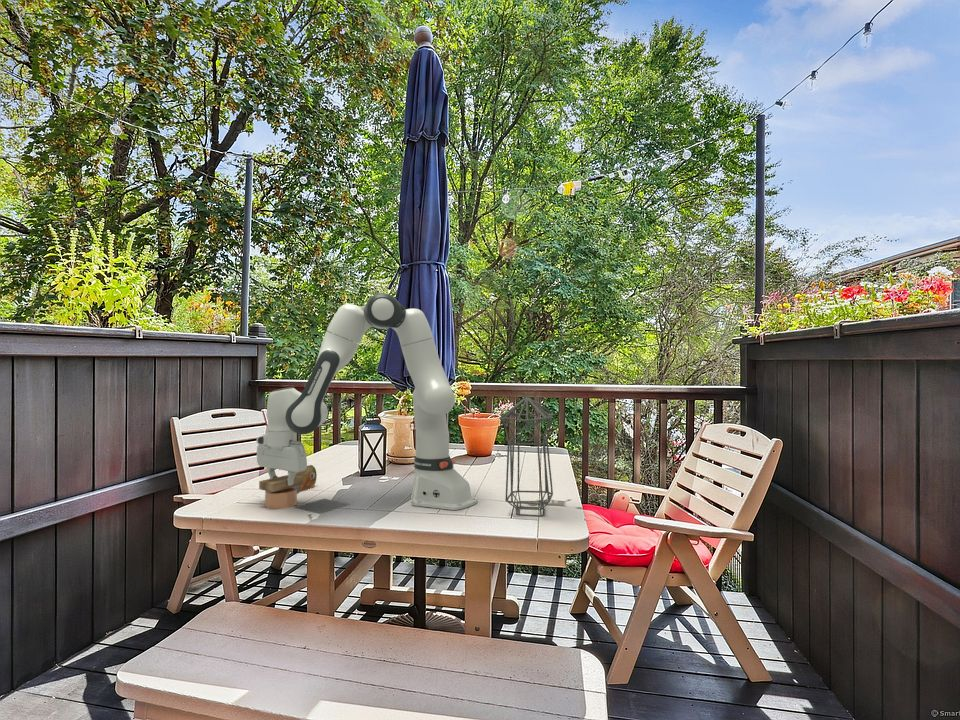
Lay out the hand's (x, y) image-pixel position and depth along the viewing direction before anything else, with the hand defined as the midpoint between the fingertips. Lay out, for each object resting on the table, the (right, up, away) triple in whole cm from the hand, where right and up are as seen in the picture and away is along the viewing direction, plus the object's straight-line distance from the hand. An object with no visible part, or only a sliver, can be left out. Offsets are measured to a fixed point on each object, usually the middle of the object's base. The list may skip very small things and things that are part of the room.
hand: (281, 483), depth 156 cm
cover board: (0, -1, 0) cm, 1 cm away
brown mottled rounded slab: (0, -8, +19) cm, 20 cm away
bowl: (0, -7, 0) cm, 7 cm away
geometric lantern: (+77, -8, -5) cm, 77 cm away
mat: (+13, -7, -1) cm, 15 cm away
